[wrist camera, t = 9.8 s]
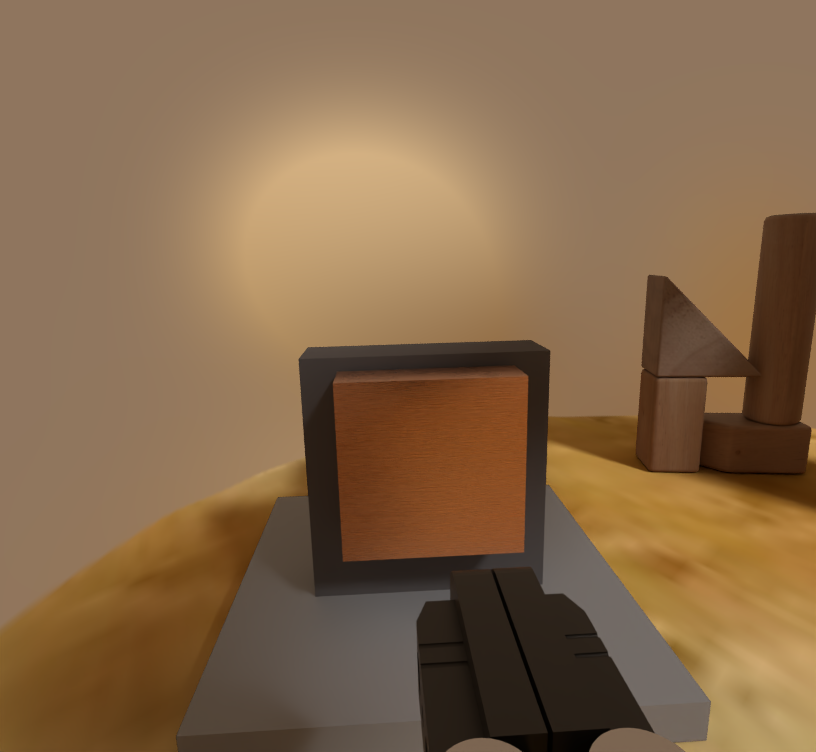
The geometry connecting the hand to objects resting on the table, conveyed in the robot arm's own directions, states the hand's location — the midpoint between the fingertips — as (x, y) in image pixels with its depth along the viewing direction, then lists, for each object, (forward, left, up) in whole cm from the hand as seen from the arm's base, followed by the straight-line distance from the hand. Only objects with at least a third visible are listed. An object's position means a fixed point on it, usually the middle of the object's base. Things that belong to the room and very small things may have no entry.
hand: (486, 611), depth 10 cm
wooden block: (-23, -28, -10) cm, 37 cm away
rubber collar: (0, -13, -8) cm, 16 cm away
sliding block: (0, -17, -5) cm, 17 cm away
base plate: (0, -14, -9) cm, 17 cm away
